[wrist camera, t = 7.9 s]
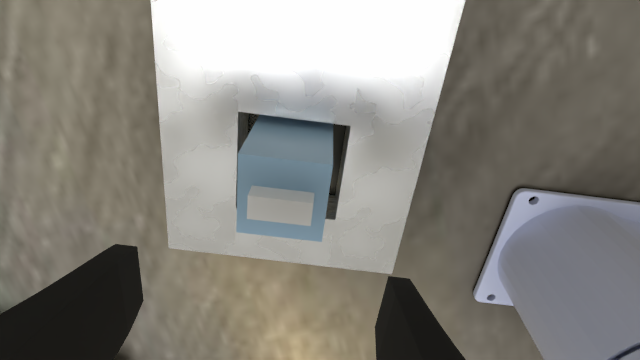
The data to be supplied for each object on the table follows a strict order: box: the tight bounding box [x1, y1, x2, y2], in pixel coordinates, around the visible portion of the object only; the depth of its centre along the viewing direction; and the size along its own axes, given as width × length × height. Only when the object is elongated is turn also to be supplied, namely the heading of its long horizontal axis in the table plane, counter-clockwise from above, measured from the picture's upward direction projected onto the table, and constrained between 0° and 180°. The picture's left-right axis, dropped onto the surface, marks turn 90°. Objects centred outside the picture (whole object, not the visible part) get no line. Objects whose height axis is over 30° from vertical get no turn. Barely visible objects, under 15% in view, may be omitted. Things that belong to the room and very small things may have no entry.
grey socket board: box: [151, 0, 465, 274], centre depth 17 cm, size 12×22×2 cm, turn 173°
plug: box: [236, 114, 333, 242], centre depth 17 cm, size 4×4×7 cm
